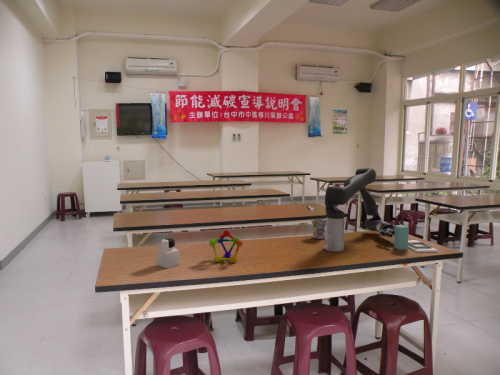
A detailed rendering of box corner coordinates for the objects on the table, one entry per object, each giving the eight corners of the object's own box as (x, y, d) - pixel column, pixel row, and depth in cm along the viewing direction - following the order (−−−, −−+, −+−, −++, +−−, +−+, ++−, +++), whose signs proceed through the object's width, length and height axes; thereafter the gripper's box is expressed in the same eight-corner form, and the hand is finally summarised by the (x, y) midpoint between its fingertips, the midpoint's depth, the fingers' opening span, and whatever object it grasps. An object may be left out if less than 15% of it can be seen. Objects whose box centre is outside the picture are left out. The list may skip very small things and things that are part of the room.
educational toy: (238, 257, 174) (241, 227, 172) (241, 265, 161) (244, 234, 159) (207, 255, 172) (210, 225, 170) (207, 263, 159) (210, 231, 157)
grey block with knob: (169, 261, 164) (169, 236, 162) (179, 264, 159) (179, 239, 158) (157, 265, 158) (156, 239, 157) (167, 268, 154) (166, 242, 152)
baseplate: (417, 252, 178) (417, 248, 178) (397, 242, 198) (398, 238, 198) (437, 252, 179) (438, 248, 178) (416, 241, 199) (416, 238, 198)
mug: (329, 239, 205) (330, 221, 204) (315, 240, 202) (316, 222, 200) (319, 234, 216) (319, 217, 215) (306, 235, 213) (306, 218, 212)
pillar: (398, 249, 183) (399, 227, 182) (393, 247, 188) (394, 225, 187) (407, 249, 183) (408, 227, 182) (402, 246, 188) (403, 225, 187)
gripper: (373, 222, 202) (386, 228, 186) (397, 222, 203) (412, 228, 187) (373, 235, 203) (386, 242, 187) (397, 235, 204) (411, 242, 188)
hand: (399, 235), depth 187 cm, fingers open, 8 cm apart
